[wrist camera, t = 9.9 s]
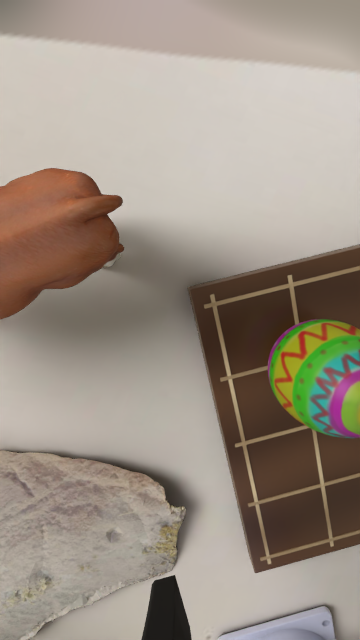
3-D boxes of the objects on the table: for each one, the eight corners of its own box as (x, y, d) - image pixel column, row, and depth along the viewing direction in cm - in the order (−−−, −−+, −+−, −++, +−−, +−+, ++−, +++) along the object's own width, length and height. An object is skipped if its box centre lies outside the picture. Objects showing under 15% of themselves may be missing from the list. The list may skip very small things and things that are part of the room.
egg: (355, 316, 17) (465, 350, 11) (336, 403, 18) (426, 477, 12) (265, 307, 16) (329, 338, 10) (249, 397, 17) (300, 472, 11)
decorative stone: (-145, 660, 20) (-166, 689, 18) (-205, 449, 17) (-234, 465, 16) (187, 617, 21) (190, 641, 20) (180, 419, 19) (182, 431, 17)
